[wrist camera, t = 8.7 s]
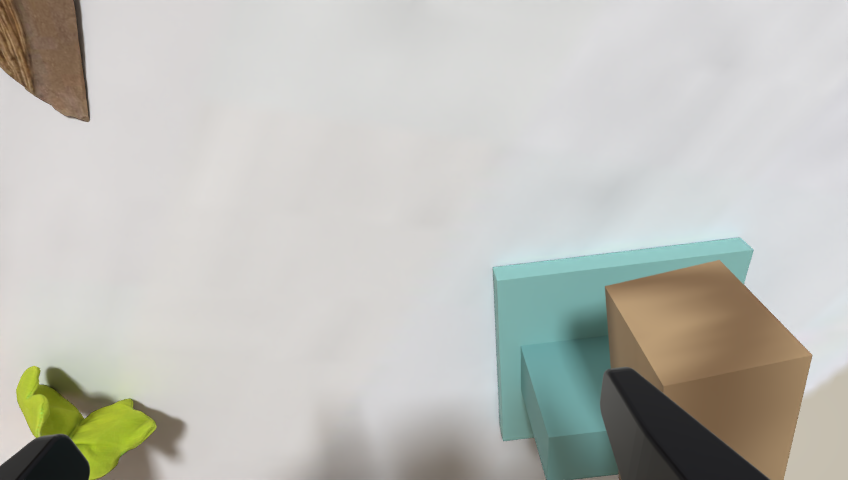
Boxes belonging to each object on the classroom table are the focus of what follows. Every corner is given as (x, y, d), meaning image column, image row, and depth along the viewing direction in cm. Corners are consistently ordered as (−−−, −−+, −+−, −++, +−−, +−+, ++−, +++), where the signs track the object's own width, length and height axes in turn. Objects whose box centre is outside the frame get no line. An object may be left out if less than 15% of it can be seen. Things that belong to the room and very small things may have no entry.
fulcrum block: (739, 237, 22) (842, 330, 17) (695, 402, 28) (762, 508, 23) (492, 267, 22) (522, 367, 17) (499, 425, 28) (523, 535, 23)
